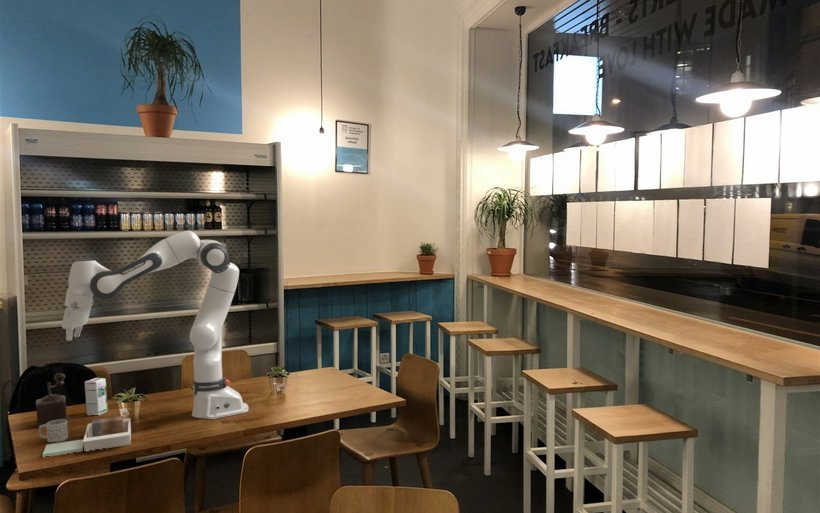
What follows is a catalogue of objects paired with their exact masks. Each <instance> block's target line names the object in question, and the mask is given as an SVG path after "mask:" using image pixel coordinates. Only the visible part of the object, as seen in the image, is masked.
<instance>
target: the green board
mask: <svg viewBox="0 0 820 513" xmlns="http://www.w3.org/2000/svg"><path fill="white" fill-rule="evenodd" d="M83 440H84V438H83V439H75V440H70V441H61V442H56V443H49V444H46V445H45V447H44V450H43V452H42V458H46V457H45V456H50V457H55V456H62V454H63V455H68V454H67V453H69V454H74V453H73V452H76V453H82V452H83V450H84V443H83ZM81 451H82V452H81ZM54 455H55V456H54Z"/></svg>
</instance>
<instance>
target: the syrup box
mask: <svg viewBox="0 0 820 513" xmlns="http://www.w3.org/2000/svg"><path fill="white" fill-rule="evenodd" d="M84 391H85V404H86V405H85V406H86V415H87V416H91V415H99V416H101V415H103V414H105V413H107V411H108V412H109V408H108V394H107V381H106V378H103V377H94V378H92V379H89V380H86V381H84Z"/></svg>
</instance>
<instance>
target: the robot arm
mask: <svg viewBox="0 0 820 513" xmlns="http://www.w3.org/2000/svg"><path fill="white" fill-rule="evenodd" d="M190 259H196V260H197V261H198V262H199V263H200V264H201V265H202V266H203V267H205V268H207V269H208V270H210V271H211V272H210V273H211V274H210V279H209V281H208V283H207V286H206V290H205V293H204V295H203V298H202V301H201V304H200V306H199V308H198V311H197V313H196V316H195V319H194V322H193V324H192V326H191V330H190V332H189V340H190V342H191V344H192V345H193V346H194V347H193V348H194V349H193V350H194V351H193V352H194V353H193V377H194V378H193V379H194V380H193V383H192V388H193V395H194V396H193V407H192V412H191V417H192V418H197V419H207V420H215V419H220V418H224V417H225V418H226V417H230V416H235V415H240V414H245V413H247V412H249V410H250V409H249V404H247V403H245V402H243V398H242V397H243V396H241V394H240V393H239V392H238V391H237V390H235V389H233V388H232V387H230V386H229V385H230V384H231V382H230V380H229V379H228V378H226V377H223V364H222V363H223V361H222V355H223V354H222V353H223V352H222V351H223V350H222V348H223V333H222V332H223V329H222V328H223V326H224V324H225V320H226V318H227V317H228V316H227V315H228V314H229V313H228V312H229V311H230V308H231V305H232V301H233V300H234V299H233V298H234V296H235V294H236V289H237V287H238V286H237V285H238V281H239V279H240V278H239V275H240V269H239V267H238V266H237V265H236V264H235V263H232V262H230V261H231V260H230V258H229V252H228V250H227V248H226V247H225V246H224V245H223V243H221V242H219V241H217V240H214V239H211V238H200V237H199V236H198V235H197V234H196V232H194V231H192V230H185V231H181V232H177V233H175V234H172V235H170V236H168V237H165V238H164V239H161V240H160V241H158V242H157V243H155V244H154V245H152V246H151V247H150V248H148V250H147V251H145V253H143V255H142V256H140V257H139V258H137V259H136V260H134V261H132V262H129V263H128V264H126V265H124V266H122V267H120V268H117V269H114V270H111V269H109V268H107V267H106V266H104V265H101V263H99V262H98V261H96V260H95V259H89V258H88V259H78V260H75V261H74V262H73V263H72V265H71V267H70V271H69V276H68V288H67V290H66V294H65V295H66V296H65V301H64V306H66V308H65V311H64V314H63V317H62V318H63V319H62V323H61V328H62V329H63V330H65V334H66V336H65V340H66V341H69V342H70V341H72V340H73V337H74V338H79V337H80V335H81V333H82V332H81V331H82V330H83V326H84V325H87V323H88V321H89V318H90V315H91V314H90V313H91V310H92V307H93V306H94V299H93V298H94V297H93V296H95V297H97V299H101V300H108V299H112V298H114V297H115V296H117V295H118V294H119V293H120V292H121V290H122V289H123V288H124V287H125V286H126V285H128V284H130V283H132V282H134V281H136V280H137V279H139V278H142V277H144V276H146V275H148V274H150V273H154V272H158V271H162V270H167V269H169V268H172V267H175V266H177V265H178V264H180V263H181V264H182V262H184V261H186V260H190ZM74 329H75V330H74Z"/></svg>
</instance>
